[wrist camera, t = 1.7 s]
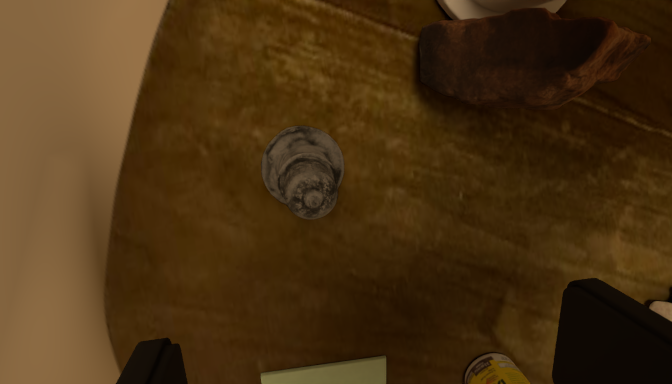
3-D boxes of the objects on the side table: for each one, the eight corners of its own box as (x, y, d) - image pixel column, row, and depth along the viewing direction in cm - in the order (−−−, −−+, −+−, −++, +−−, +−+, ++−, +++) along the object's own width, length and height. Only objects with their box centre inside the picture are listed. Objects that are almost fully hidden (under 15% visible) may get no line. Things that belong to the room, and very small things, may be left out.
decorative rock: (555, 40, 30) (701, 20, 19) (533, 115, 31) (656, 133, 21) (417, 11, 27) (500, -29, 17) (401, 93, 29) (467, 101, 19)
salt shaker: (257, 127, 28) (242, 154, 17) (332, 116, 29) (368, 136, 17) (269, 199, 30) (264, 269, 18) (340, 188, 30) (378, 249, 19)
